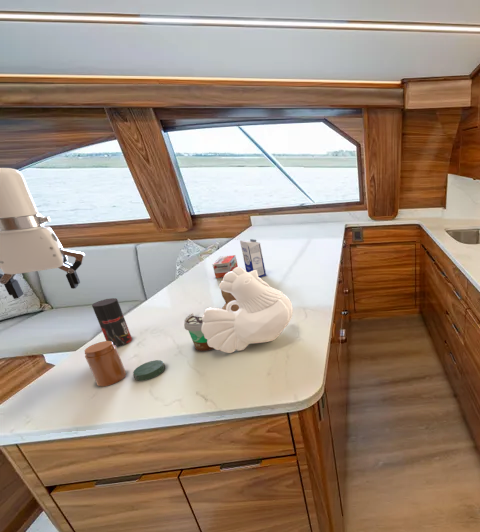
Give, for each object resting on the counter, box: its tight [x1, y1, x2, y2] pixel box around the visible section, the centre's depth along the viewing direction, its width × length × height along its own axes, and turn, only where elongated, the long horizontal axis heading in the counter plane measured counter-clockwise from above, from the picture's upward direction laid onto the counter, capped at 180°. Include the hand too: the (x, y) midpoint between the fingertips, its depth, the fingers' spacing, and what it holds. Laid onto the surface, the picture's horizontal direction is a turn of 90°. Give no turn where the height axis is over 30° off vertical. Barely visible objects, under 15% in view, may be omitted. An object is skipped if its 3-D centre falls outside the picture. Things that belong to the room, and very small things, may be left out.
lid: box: [132, 359, 166, 382], centre depth 84 cm, size 7×7×2 cm
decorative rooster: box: [201, 266, 294, 354], centre depth 95 cm, size 25×16×25 cm
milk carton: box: [239, 238, 267, 278], centre depth 154 cm, size 7×7×20 cm
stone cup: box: [220, 278, 239, 311], centre depth 117 cm, size 15×12×15 cm
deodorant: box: [91, 297, 133, 348], centre depth 97 cm, size 6×6×15 cm
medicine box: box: [211, 254, 239, 279], centre depth 162 cm, size 15×8×8 cm, turn 16°
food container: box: [183, 313, 215, 352], centre depth 94 cm, size 12×6×10 cm, turn 73°
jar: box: [84, 340, 127, 388], centre depth 80 cm, size 6×6×10 cm
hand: (48, 291), depth 74 cm, fingers open, 9 cm apart
